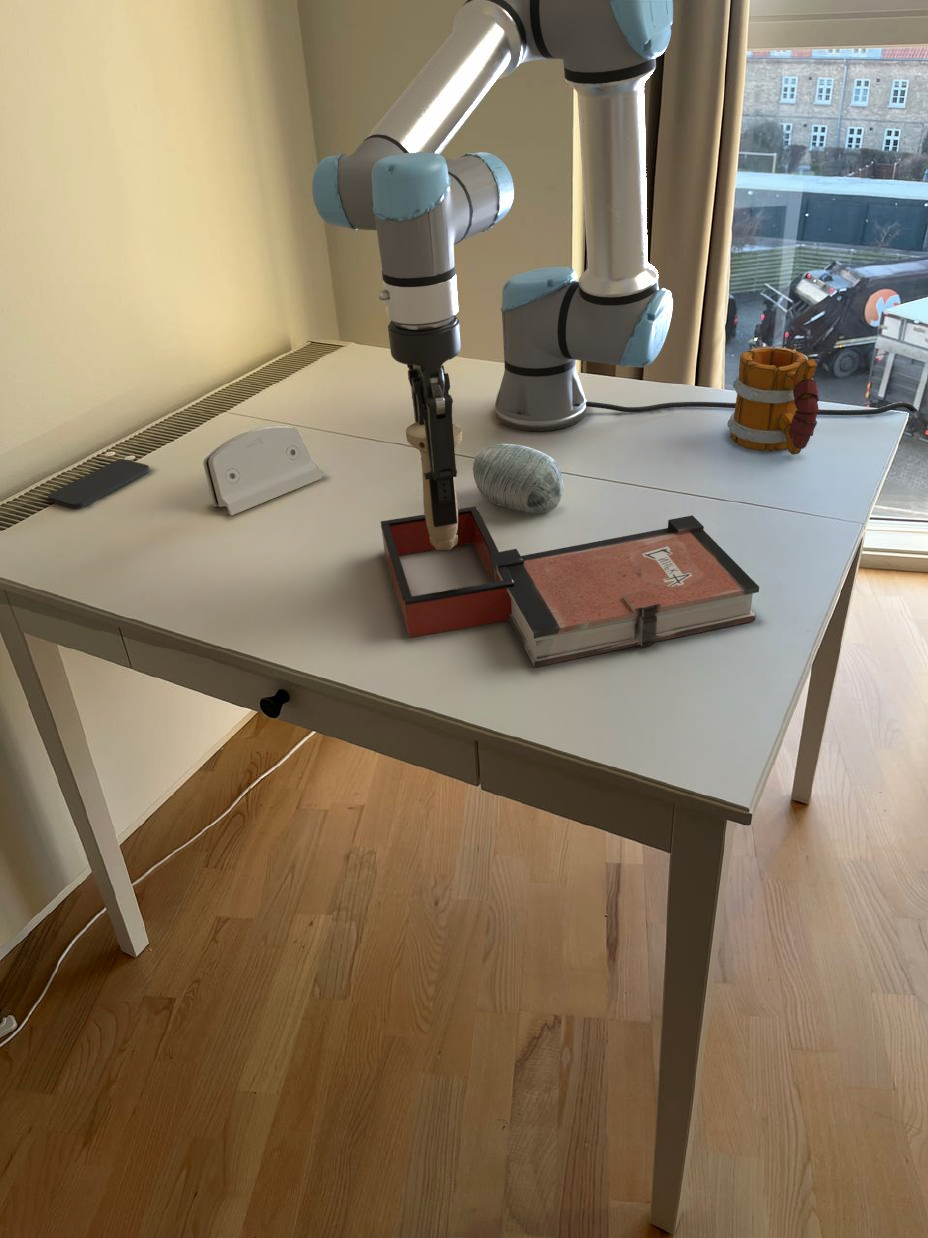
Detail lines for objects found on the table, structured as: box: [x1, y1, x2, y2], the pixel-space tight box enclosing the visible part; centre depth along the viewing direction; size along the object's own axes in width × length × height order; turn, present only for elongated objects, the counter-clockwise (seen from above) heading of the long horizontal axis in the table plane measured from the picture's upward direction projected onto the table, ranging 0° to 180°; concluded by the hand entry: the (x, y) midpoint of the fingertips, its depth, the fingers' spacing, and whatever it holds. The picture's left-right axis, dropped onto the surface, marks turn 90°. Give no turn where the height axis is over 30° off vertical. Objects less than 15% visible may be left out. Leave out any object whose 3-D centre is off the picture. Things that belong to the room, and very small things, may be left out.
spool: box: [472, 443, 564, 514], centre depth 133 cm, size 14×10×10 cm
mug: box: [726, 346, 820, 455], centre depth 142 cm, size 11×16×15 cm, turn 18°
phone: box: [47, 458, 151, 509], centre depth 149 cm, size 7×1×15 cm
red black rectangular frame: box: [380, 505, 514, 638], centre depth 117 cm, size 13×20×5 cm, turn 12°
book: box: [490, 514, 760, 668], centre depth 111 cm, size 26×18×5 cm
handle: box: [405, 422, 463, 551], centre depth 112 cm, size 5×6×15 cm
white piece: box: [202, 425, 323, 516], centre depth 142 cm, size 17×5×10 cm, turn 132°
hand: (441, 514), depth 113 cm, fingers closed on handle, 4 cm apart
